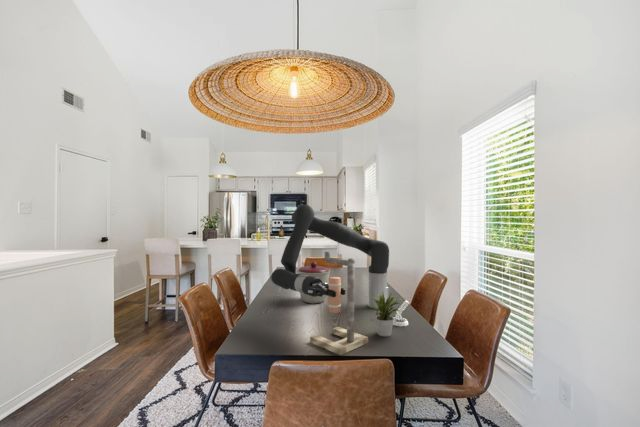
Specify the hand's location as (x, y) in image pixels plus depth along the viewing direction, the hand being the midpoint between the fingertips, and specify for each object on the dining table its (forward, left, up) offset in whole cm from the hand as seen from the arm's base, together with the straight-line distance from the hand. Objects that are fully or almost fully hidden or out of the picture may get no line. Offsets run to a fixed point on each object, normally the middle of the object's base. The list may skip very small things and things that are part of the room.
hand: (340, 293), depth 113 cm
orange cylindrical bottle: (+1, -3, -7) cm, 8 cm away
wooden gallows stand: (0, 0, -18) cm, 18 cm away
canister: (-18, -53, -18) cm, 59 cm away
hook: (-34, -5, -18) cm, 39 cm away
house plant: (-19, +2, -18) cm, 26 cm away
